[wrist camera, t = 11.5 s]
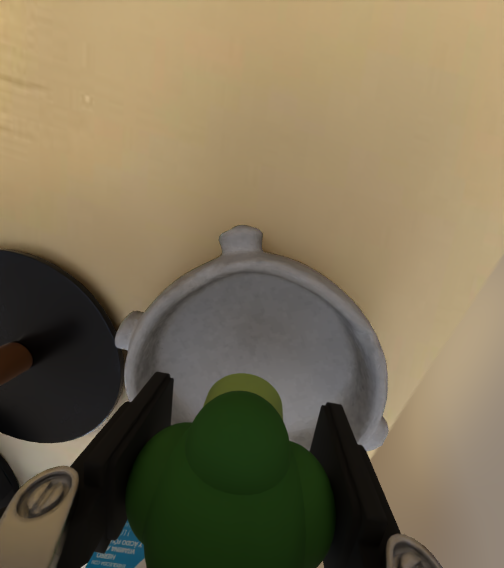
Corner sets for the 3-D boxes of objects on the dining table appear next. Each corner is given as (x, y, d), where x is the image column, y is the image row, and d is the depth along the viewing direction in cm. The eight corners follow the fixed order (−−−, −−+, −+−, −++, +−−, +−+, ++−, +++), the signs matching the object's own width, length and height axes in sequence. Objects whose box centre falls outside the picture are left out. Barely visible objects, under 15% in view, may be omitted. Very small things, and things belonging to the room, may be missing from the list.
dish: (385, 386, 17) (432, 451, 12) (217, 445, 19) (199, 518, 14) (301, 195, 14) (317, 178, 9) (120, 291, 17) (58, 317, 12)
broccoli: (180, 331, 10) (47, 486, 4) (328, 356, 9) (419, 561, 4) (173, 446, 11) (69, 679, 6) (300, 471, 11) (331, 743, 5)
